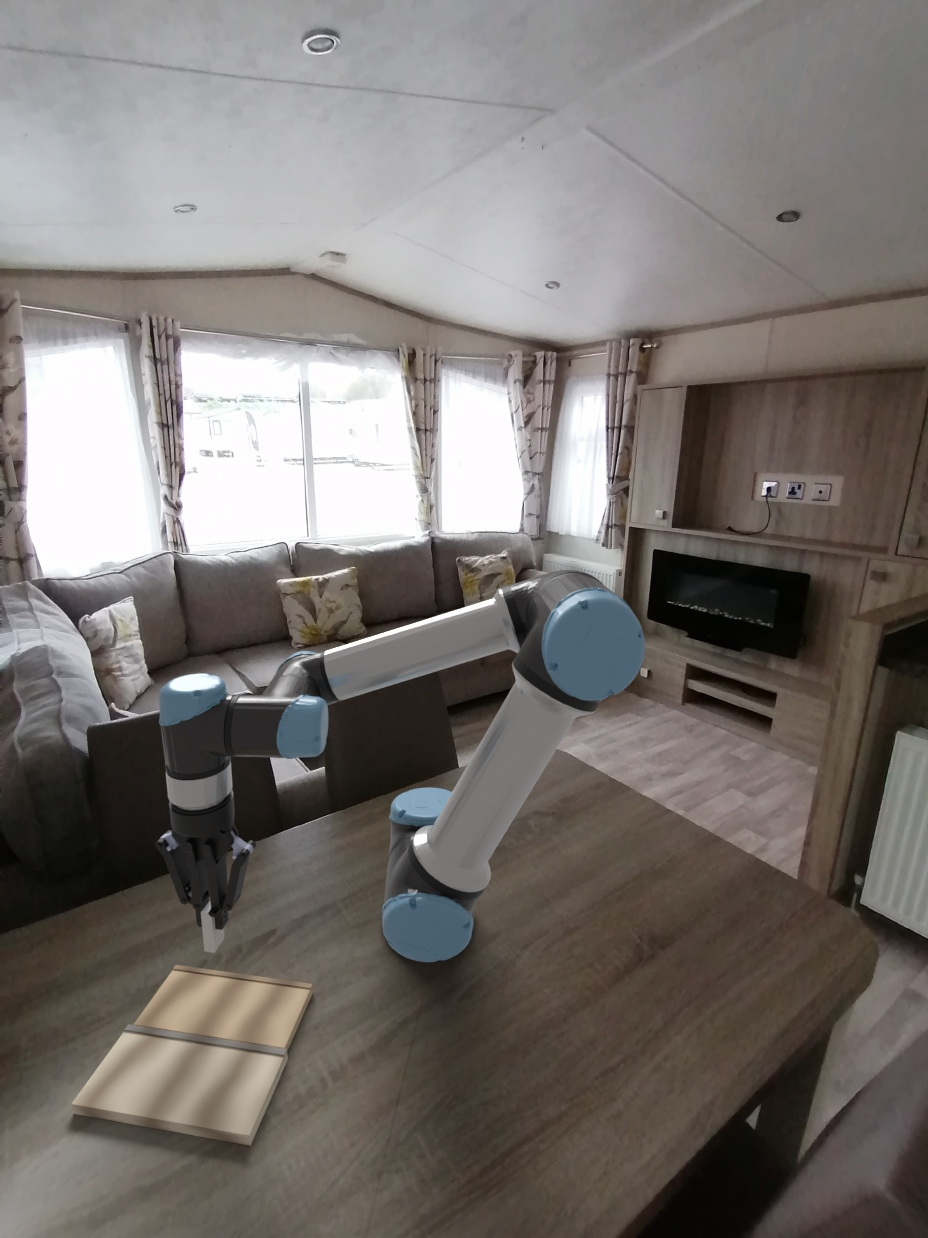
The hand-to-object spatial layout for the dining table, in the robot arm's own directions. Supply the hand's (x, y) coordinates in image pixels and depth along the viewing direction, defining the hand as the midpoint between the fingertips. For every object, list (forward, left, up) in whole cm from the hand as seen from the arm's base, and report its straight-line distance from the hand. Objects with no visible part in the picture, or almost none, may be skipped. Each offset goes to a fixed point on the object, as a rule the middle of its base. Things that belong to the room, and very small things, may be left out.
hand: (214, 944), depth 84 cm
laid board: (-2, +12, -9) cm, 15 cm away
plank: (-2, +2, -9) cm, 10 cm away
